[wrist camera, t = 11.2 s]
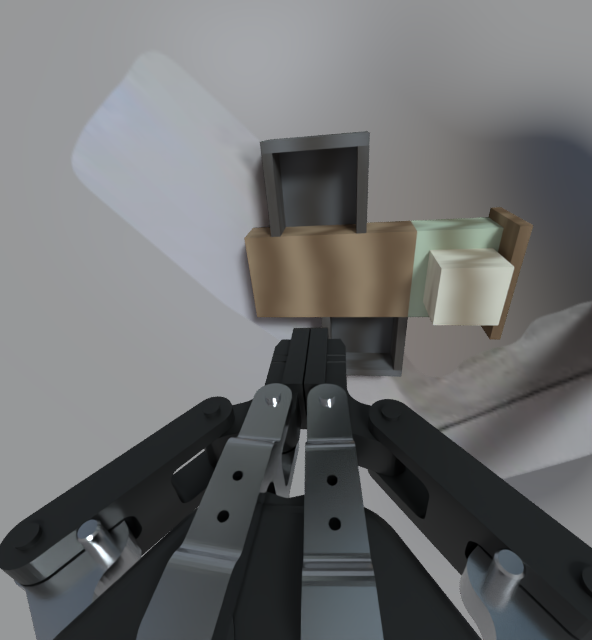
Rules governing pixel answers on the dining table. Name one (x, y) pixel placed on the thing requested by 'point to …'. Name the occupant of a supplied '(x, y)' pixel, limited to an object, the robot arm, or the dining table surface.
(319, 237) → the box
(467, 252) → the block
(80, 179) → the dining table surface
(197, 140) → the dining table surface
